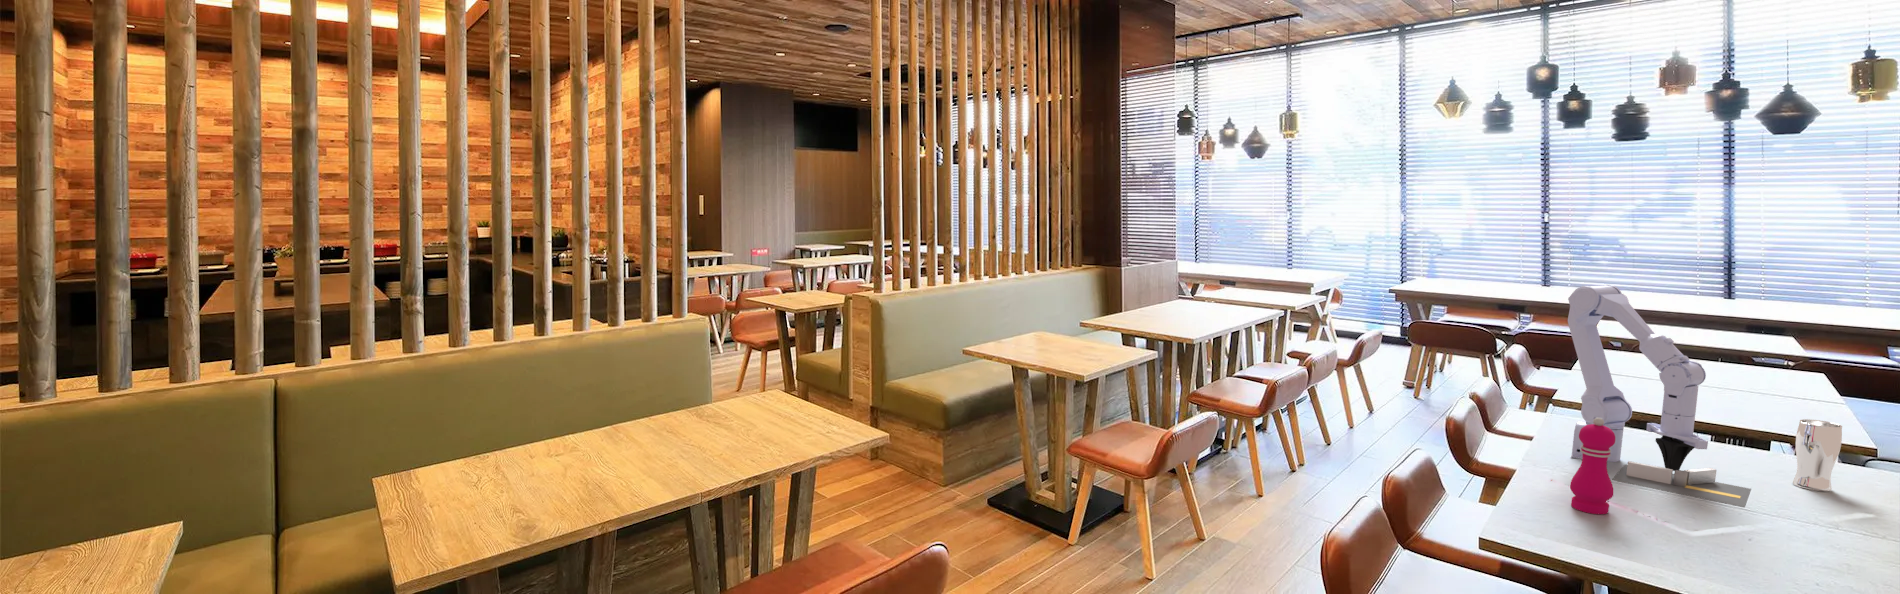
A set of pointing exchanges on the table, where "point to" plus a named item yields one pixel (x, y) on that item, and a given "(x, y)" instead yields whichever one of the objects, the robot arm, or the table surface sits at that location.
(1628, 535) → the table surface
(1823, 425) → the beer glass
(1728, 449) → the table surface
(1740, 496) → the mat
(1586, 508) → the pepper mill
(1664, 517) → the table surface
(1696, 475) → the hinge leaf
